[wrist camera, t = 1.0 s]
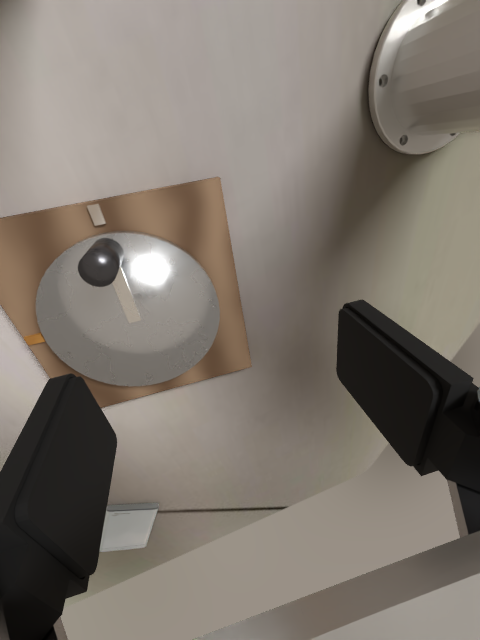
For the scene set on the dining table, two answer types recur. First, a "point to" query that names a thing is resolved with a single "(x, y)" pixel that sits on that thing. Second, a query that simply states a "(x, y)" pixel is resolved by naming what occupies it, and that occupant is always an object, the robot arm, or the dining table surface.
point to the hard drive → (127, 526)
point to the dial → (127, 308)
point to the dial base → (127, 215)
